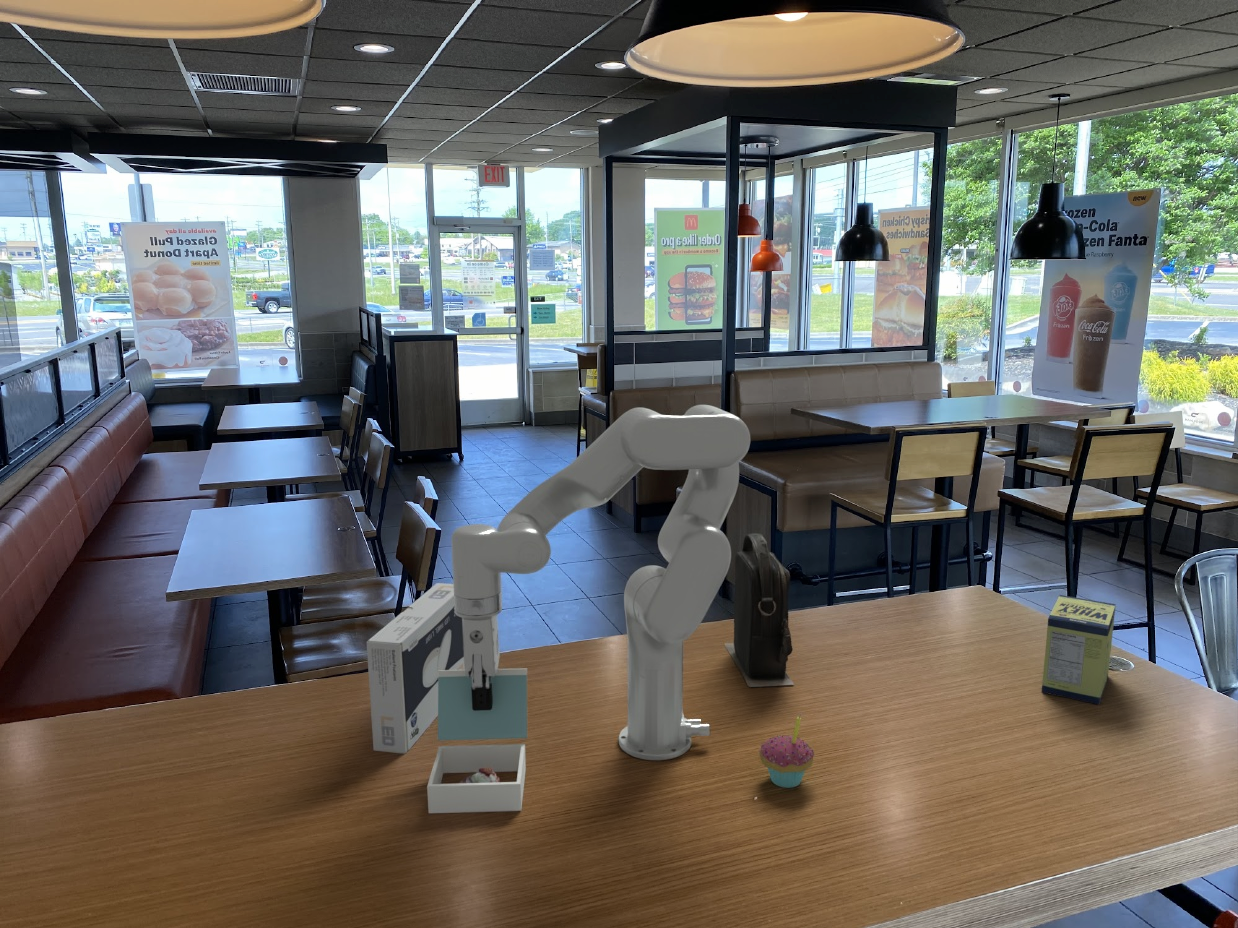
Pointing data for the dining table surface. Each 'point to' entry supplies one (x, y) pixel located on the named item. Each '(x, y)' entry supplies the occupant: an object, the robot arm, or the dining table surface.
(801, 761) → the cupcake
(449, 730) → the lid
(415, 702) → the packaging
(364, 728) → the dining table surface
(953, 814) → the dining table surface
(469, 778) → the pastry
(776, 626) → the shoulder bag
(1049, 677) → the protein box
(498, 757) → the box
